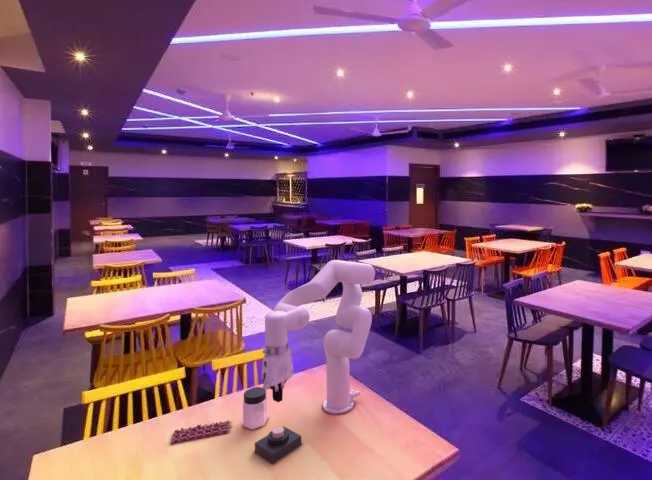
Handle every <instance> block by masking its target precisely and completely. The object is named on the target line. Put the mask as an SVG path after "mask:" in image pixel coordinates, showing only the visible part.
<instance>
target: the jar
mask: <svg viewBox="0 0 652 480" xmlns="http://www.w3.org/2000/svg"><path fill="white" fill-rule="evenodd" d="M267 420H268V395H267V390H265V389H263V386H255V387H251V388H249V389H247V390H245V391H244V392H243V402H242V426H243V427H244V428H247V429H250V430H255V429H258V428H261V427H264V426H265V424H266V422H267Z"/></svg>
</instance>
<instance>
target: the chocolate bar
mask: <svg viewBox="0 0 652 480" xmlns="http://www.w3.org/2000/svg"><path fill="white" fill-rule="evenodd" d="M201 425H202V424H200V423H199V424H196V426H193V427H192V426H189V427H188V428H185V429H184V427H181V428H180V430H179V429H177V428H176V429H174V433H173V437H172V438H171V445H176V444H181V443H185V442H190V441H196V440H201V439H206V438H212V437H216V436H221V435H222V436H223V435H227V434H228V433H229V429H231V425H230V419H227V420H226V421H224V422H222V421H219V422H217V421H216V422H212V423H210V424H207V423H204V425H202V426H201Z"/></svg>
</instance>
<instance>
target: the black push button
mask: <svg viewBox="0 0 652 480" xmlns="http://www.w3.org/2000/svg"><path fill="white" fill-rule="evenodd" d="M281 427H283V428H284V436H283V437H281V438H278V439H276V438H273V437H272V430H271V431H269V433H268V434H267V435H265V436H263V437H262V438H261V439H259V440H257V441H256V442H254V453H256V454H257V455H259V456H260V457H262V458H264V459H265V460H267V461H268V462H270V463H271V464H275V463H277V462H278V461H280V460H281V459H282V458H284V457H285V456H287V455H288V454H290V453H292V452H293V451H295V449H297V448H299V447H300V446H301V445H302V435H301V434H298V433H297V432H295V431H293V430H291V428H288V427H286V426H284V425H282V426H281Z"/></svg>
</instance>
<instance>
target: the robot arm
mask: <svg viewBox="0 0 652 480" xmlns="http://www.w3.org/2000/svg"><path fill="white" fill-rule="evenodd" d="M375 277H376V270H375V268H374V266H373V265H372V264H370V263H363V262H356V261H348V260H340V259H332V260H329V261H328V262H327V263H325V265H324V266H323V267H322V268H321V269H320V270H319V271H318V273H316V274H315V275H314V276H313V278H312V279H311V280H310V281H309V282H307V283H305V284H303V285H300V286H299V287H296V288H294V289H292V290H290V291H289V292H287V293H286V294H285V295H284V296H283V297H282V299H280V300H279V301H278V302H277V304H276V305H275V306H274V308H273V310H272V311H270V312H267V314H265V317H264V341H265V344H264V349H263V350H262V353H263V358H262V365H261V381H262V383H263V384H262V385H263V386H262V388H263V389H265V390H266V391H267V390H272V401H274V402H276V403H280V402H282V401H283V394H284V393H283V392H284V391H283V389H284V388H285V384H286V383H287V381H289V379H291V378H292V377H293V375H294V364H293V356H292V351H291V349H290V348H289V332H291V331H296V330H301V329H303V328H304V327H306V326H307V325H308V323H309V322H310V317H311V315H310V313H309V311H308V310H307V309H306V308H304V307H301V305H303V304H307V303H310V302H315V301H320V300H323V299H325V298H326V297H327V296H328V295H329V294H330V293H331V291H332V290H333V289H334V288H335V287H336V286H337V285H338V283H341V284H342V295H341V297H340V301H339V304H338V307H337V310H336V313H335V317H334V318H335V319H334V320H335V323H336V325H338V326H339V327H342V328H345V329H349V330H352V331H351V332H350V331H346V330H344V329H343V330H342V329H335V328H334V329H331V330H328V331H327V332H326V333H325V335H324V338H323V350H324V353H325V354H324V355H325V365H326V370H325V371H326V399H325V400H324V401H323V403H322V409H323V410H324V411H325V412H327V413H329V414H332V415H340V414H345V413H348V412H349V411H351V410H352V409H353V408H354V405H355V403H354V398H355V397H359V396H360V395H361V392H360V391H359V390H356V391H355V390H354V389H351V387H350V386H351V379H350V378H351V375H350V374H351V371H350V370H351V369H350V367H351V364H350V360H357V359H359V358H360V357H361V356H362V355H363V353H364V350H365V347H366V344H367V341H368V338H369V334H370V330H371V326H372V322H373V315H372V313H371V310H370V309H368V308H366V307H364V306H361V303H362V298H363V290H362V287H361V285H369V284H371V283H372V282H373V281H374V279H375Z"/></svg>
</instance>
